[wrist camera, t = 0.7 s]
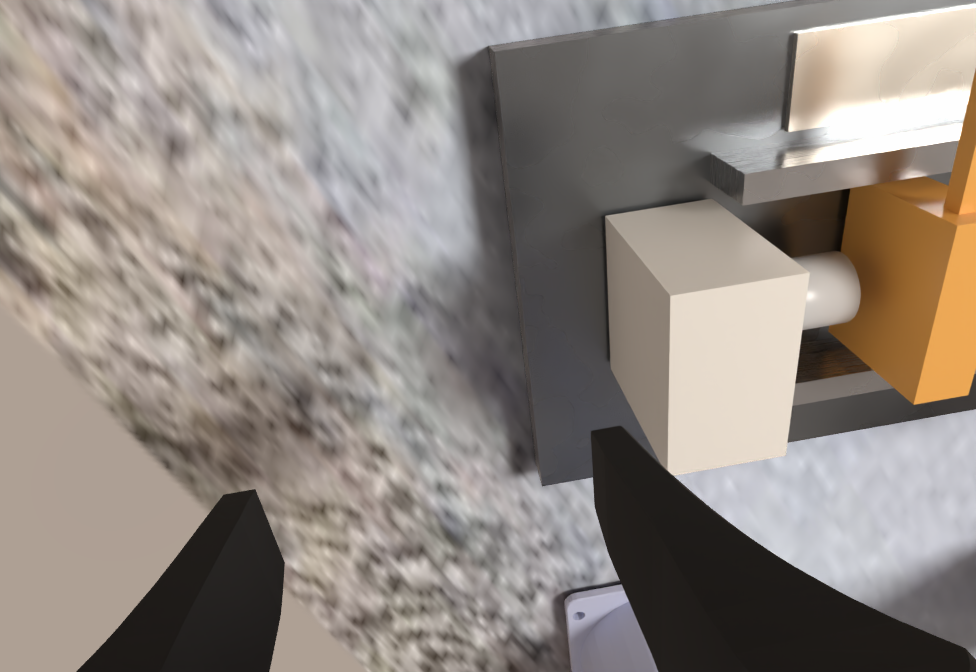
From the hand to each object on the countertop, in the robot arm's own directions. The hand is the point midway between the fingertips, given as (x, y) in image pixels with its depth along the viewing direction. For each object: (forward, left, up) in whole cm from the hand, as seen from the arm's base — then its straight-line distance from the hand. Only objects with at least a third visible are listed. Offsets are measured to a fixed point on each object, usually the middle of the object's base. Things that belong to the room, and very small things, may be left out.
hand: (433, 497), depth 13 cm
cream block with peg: (0, -9, -7) cm, 11 cm away
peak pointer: (+2, -13, -7) cm, 15 cm away
